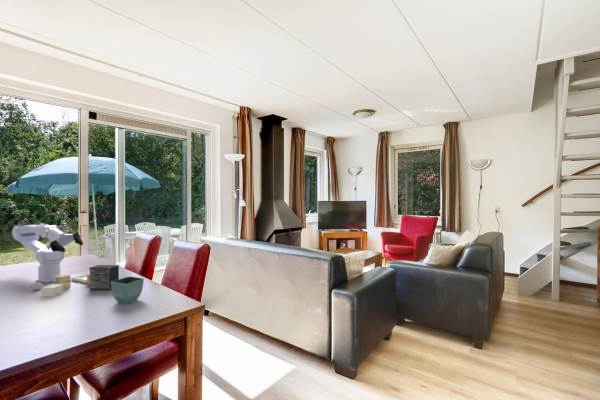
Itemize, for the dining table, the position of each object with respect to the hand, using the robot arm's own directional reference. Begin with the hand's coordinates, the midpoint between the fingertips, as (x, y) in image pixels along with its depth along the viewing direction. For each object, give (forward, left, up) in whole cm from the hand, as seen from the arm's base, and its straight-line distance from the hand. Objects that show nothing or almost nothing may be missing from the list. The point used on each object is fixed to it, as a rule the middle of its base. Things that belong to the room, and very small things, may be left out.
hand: (73, 246), depth 143 cm
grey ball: (-9, -11, -17) cm, 22 cm away
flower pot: (+43, -5, -19) cm, 48 cm away
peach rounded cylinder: (+5, +5, -19) cm, 20 cm away
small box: (+17, +3, -19) cm, 26 cm away
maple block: (-1, -5, -19) cm, 20 cm away
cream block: (+5, -12, -19) cm, 23 cm away
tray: (-4, +10, -19) cm, 22 cm away
